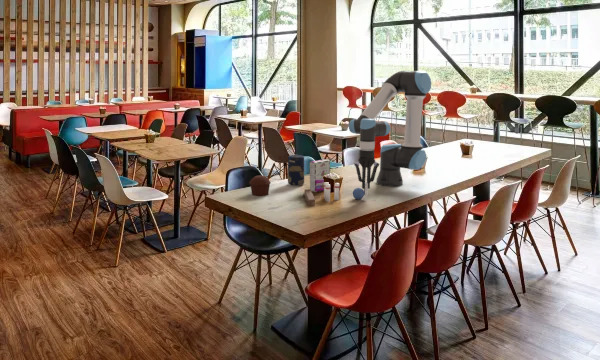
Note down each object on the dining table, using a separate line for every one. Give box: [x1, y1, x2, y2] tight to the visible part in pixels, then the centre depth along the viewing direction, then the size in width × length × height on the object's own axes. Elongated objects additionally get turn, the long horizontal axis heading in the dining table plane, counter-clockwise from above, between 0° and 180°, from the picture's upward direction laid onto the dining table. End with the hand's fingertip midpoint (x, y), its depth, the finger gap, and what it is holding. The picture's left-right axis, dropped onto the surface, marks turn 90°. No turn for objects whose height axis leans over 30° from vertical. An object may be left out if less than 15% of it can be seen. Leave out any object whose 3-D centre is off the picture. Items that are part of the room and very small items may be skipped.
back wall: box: [304, 188, 316, 207], centre depth 268 cm, size 3×22×3 cm, turn 5°
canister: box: [287, 153, 305, 187], centre depth 301 cm, size 10×10×18 cm
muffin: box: [249, 174, 272, 197], centre depth 279 cm, size 12×11×10 cm
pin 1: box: [323, 182, 329, 200], centre depth 270 cm, size 2×2×8 cm
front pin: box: [333, 182, 340, 201], centre depth 268 cm, size 2×2×8 cm
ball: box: [352, 187, 365, 200], centre depth 270 cm, size 6×6×6 cm
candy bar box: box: [309, 159, 331, 193], centre depth 289 cm, size 11×5×16 cm, turn 129°
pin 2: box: [324, 183, 331, 202], centre depth 266 cm, size 2×2×8 cm
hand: (365, 194), depth 270 cm, fingers closed
